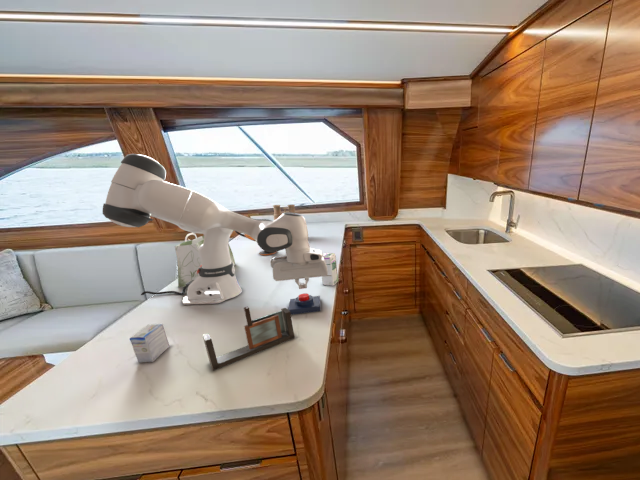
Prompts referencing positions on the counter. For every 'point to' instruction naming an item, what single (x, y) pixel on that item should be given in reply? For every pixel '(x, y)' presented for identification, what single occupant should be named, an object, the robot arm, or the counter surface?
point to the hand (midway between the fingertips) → (303, 288)
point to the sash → (261, 330)
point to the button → (303, 297)
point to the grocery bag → (190, 259)
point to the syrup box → (330, 269)
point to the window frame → (245, 351)
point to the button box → (304, 305)
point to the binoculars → (278, 211)
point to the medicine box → (149, 342)
